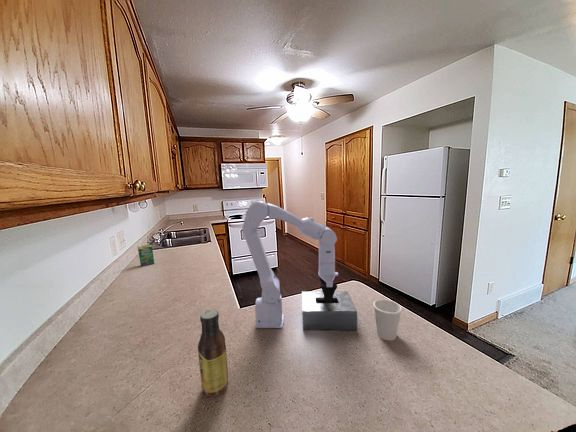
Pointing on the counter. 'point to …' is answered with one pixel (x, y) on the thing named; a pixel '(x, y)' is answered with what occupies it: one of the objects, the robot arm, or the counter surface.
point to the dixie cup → (387, 318)
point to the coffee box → (146, 255)
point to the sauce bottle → (212, 355)
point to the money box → (328, 312)
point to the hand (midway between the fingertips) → (326, 297)
